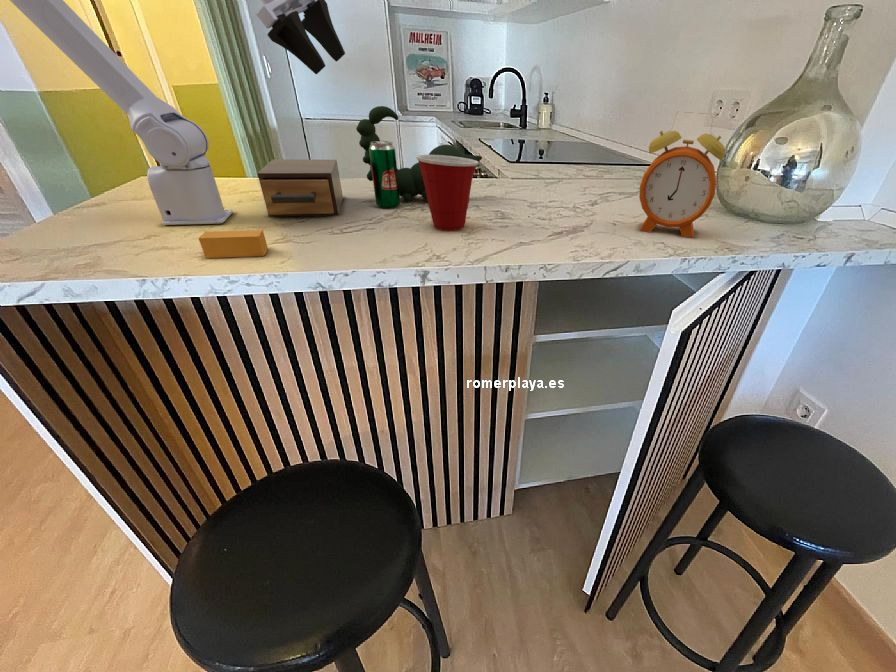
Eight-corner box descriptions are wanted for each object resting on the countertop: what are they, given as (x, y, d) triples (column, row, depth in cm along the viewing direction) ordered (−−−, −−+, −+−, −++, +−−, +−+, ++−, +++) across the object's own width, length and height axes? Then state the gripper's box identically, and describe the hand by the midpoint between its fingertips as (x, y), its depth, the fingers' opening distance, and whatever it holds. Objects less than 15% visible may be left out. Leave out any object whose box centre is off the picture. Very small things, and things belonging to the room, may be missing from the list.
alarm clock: (631, 230, 87) (654, 111, 76) (635, 222, 92) (657, 109, 80) (701, 240, 84) (737, 116, 72) (702, 231, 89) (735, 114, 77)
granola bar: (205, 258, 66) (198, 238, 64) (211, 251, 69) (204, 231, 67) (264, 256, 68) (258, 236, 66) (268, 249, 70) (262, 229, 69)
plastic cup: (490, 227, 85) (491, 158, 78) (446, 239, 78) (443, 163, 71) (453, 215, 91) (450, 149, 84) (409, 225, 84) (403, 154, 77)
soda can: (387, 210, 92) (379, 144, 85) (371, 205, 94) (362, 141, 87) (405, 206, 95) (399, 142, 88) (390, 201, 97) (383, 139, 90)
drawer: (331, 220, 81) (325, 186, 78) (263, 221, 79) (253, 186, 76) (338, 196, 96) (333, 167, 92) (281, 197, 93) (273, 167, 90)
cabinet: (338, 215, 87) (331, 173, 83) (268, 216, 85) (257, 173, 80) (343, 197, 99) (336, 159, 95) (281, 198, 96) (272, 159, 92)
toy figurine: (372, 212, 96) (487, 202, 98) (348, 109, 85) (479, 101, 87) (376, 201, 103) (483, 192, 106) (355, 106, 92) (475, 98, 94)
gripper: (247, -48, 58) (327, 60, 66) (300, -59, 68) (364, 37, 75) (220, -11, 62) (298, 88, 69) (273, -26, 71) (337, 63, 79)
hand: (331, 63), depth 73 cm, fingers open, 7 cm apart
